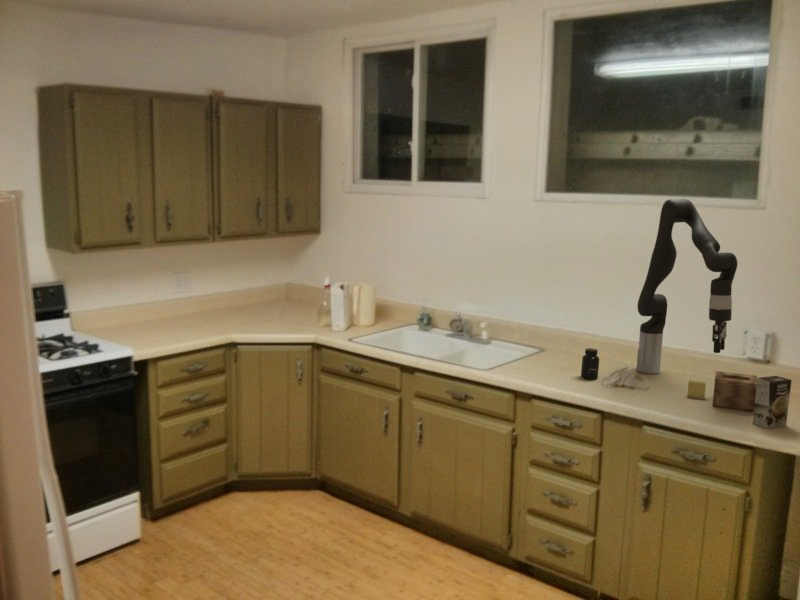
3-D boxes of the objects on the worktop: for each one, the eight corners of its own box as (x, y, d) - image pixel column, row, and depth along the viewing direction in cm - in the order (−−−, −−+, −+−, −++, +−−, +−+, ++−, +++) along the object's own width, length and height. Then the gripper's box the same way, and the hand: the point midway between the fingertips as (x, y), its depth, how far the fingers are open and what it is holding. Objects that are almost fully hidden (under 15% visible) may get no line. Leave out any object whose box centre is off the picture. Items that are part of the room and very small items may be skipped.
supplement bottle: (591, 381, 296) (593, 352, 294) (577, 377, 301) (579, 349, 299) (601, 378, 300) (603, 349, 298) (587, 374, 305) (589, 346, 303)
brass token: (687, 396, 277) (688, 381, 276) (687, 395, 279) (688, 379, 278) (704, 399, 275) (705, 383, 274) (704, 397, 277) (705, 382, 276)
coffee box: (767, 429, 243) (773, 382, 240) (751, 423, 249) (756, 377, 246) (787, 425, 247) (792, 379, 244) (771, 419, 252) (776, 374, 250)
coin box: (712, 406, 266) (715, 379, 264) (713, 397, 276) (715, 371, 275) (755, 412, 260) (758, 384, 258) (754, 402, 271) (757, 375, 269)
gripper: (713, 305, 275) (711, 347, 277) (705, 308, 263) (704, 353, 265) (734, 306, 271) (733, 349, 273) (728, 309, 259) (726, 354, 261)
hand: (719, 351), depth 269 cm, fingers open, 8 cm apart
